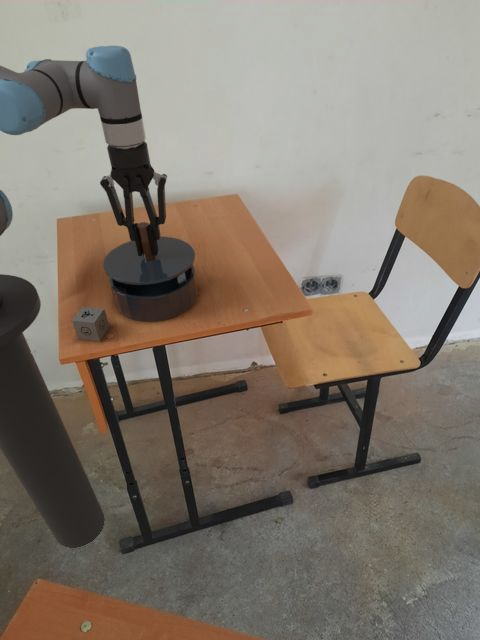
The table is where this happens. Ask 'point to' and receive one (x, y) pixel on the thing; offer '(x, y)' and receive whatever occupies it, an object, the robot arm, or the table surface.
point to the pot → (156, 297)
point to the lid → (149, 260)
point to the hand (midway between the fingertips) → (148, 252)
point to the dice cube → (90, 324)
